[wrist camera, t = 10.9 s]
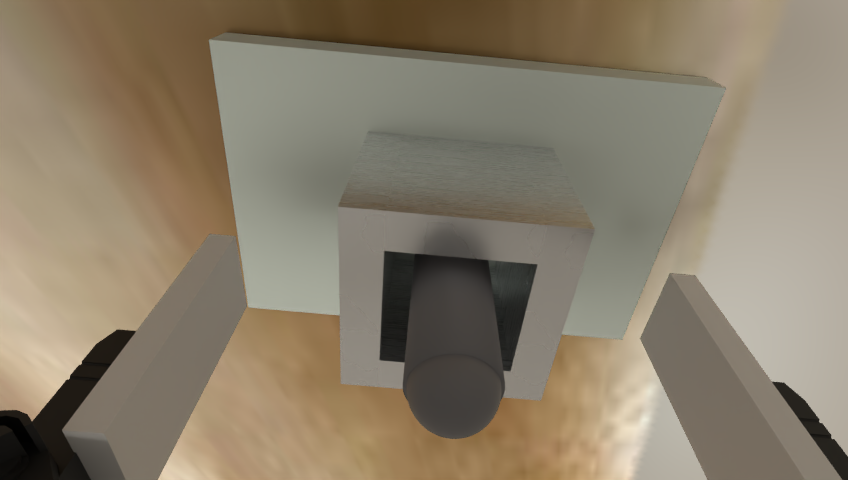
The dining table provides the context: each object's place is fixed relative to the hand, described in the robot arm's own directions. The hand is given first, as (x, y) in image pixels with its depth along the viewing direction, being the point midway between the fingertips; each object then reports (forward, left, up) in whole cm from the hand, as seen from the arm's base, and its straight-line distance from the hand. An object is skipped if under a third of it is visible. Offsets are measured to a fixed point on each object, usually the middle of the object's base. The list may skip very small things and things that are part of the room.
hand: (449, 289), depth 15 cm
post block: (0, 0, -7) cm, 7 cm away
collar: (+1, 0, -6) cm, 6 cm away
